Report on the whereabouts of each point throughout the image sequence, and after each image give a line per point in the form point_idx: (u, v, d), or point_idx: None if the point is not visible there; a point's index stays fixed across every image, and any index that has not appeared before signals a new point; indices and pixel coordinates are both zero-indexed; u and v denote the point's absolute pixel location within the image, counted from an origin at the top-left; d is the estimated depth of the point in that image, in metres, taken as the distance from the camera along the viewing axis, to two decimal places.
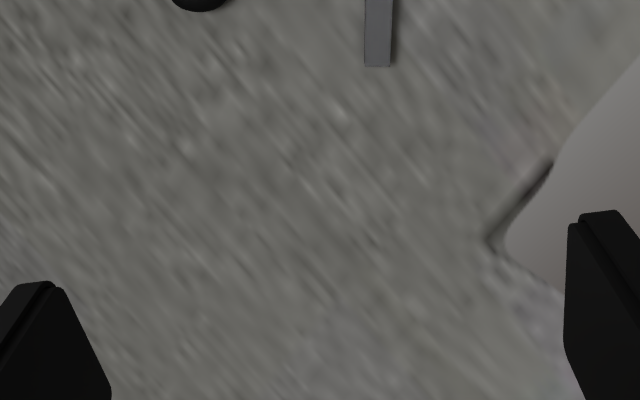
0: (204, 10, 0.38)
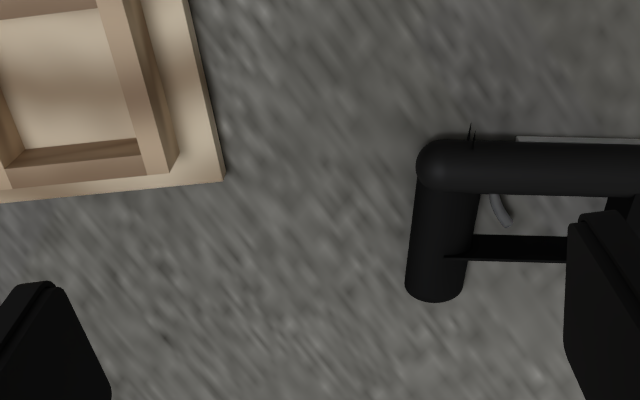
0: None
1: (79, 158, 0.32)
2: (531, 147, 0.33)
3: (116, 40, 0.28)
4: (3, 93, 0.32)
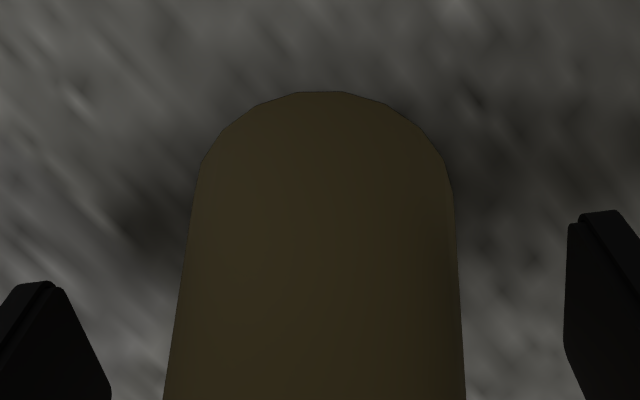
0: None
1: None
2: None
3: None
4: None
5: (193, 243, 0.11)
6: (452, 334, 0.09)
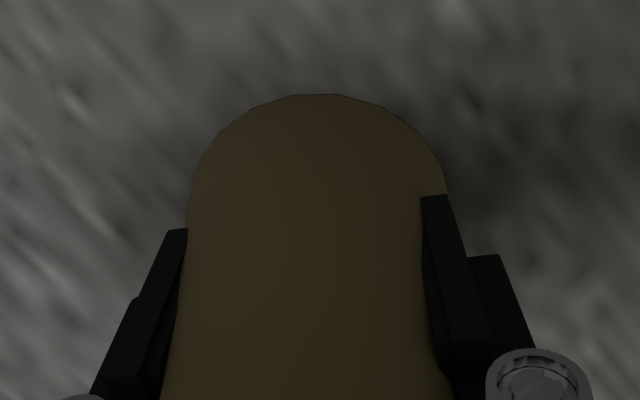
0: None
1: None
2: None
3: None
4: None
5: (188, 247, 0.11)
6: None
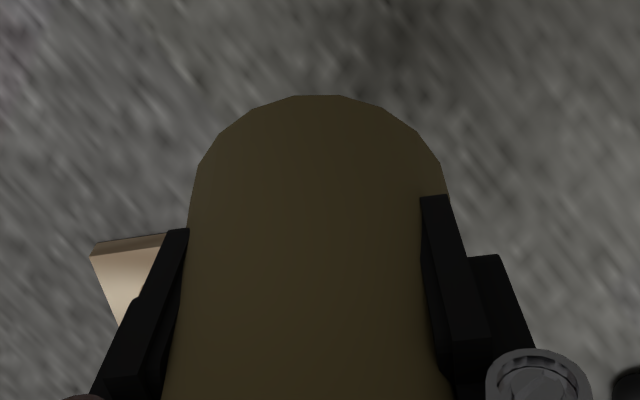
0: None
1: None
2: None
3: None
4: None
5: (189, 246, 0.11)
6: None
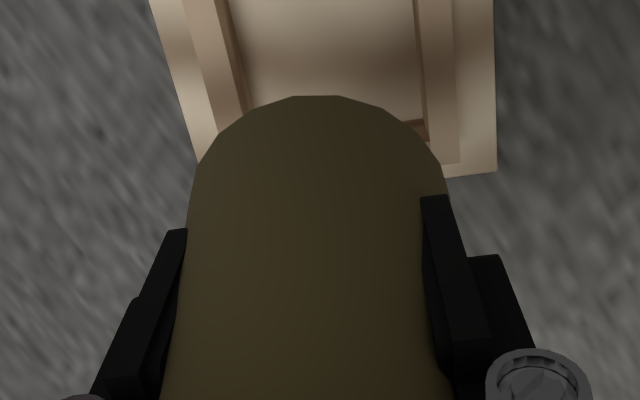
0: None
1: None
2: None
3: None
4: (246, 74, 0.27)
5: (188, 248, 0.11)
6: None
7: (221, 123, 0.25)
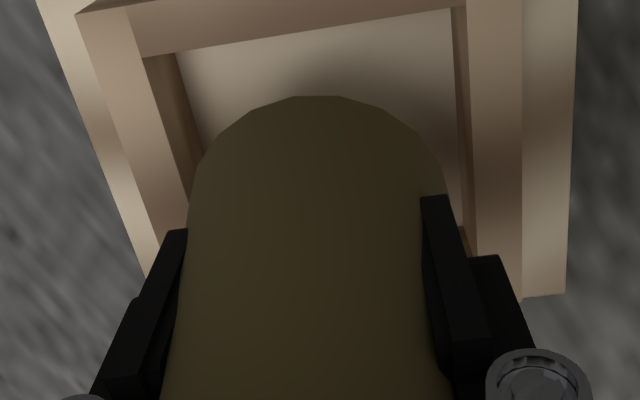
0: None
1: None
2: None
3: (488, 70, 0.14)
4: None
5: (188, 248, 0.11)
6: None
7: None
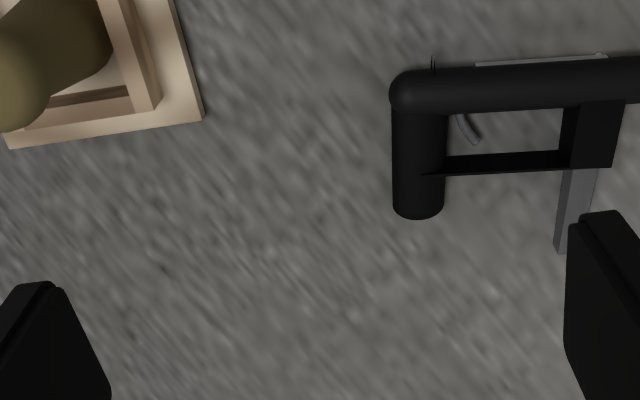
0: (423, 219, 0.44)
1: (78, 101, 0.38)
2: (485, 69, 0.38)
3: None
4: None
5: None
6: (62, 36, 0.33)
7: None
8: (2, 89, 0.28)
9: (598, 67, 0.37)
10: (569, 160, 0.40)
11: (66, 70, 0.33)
